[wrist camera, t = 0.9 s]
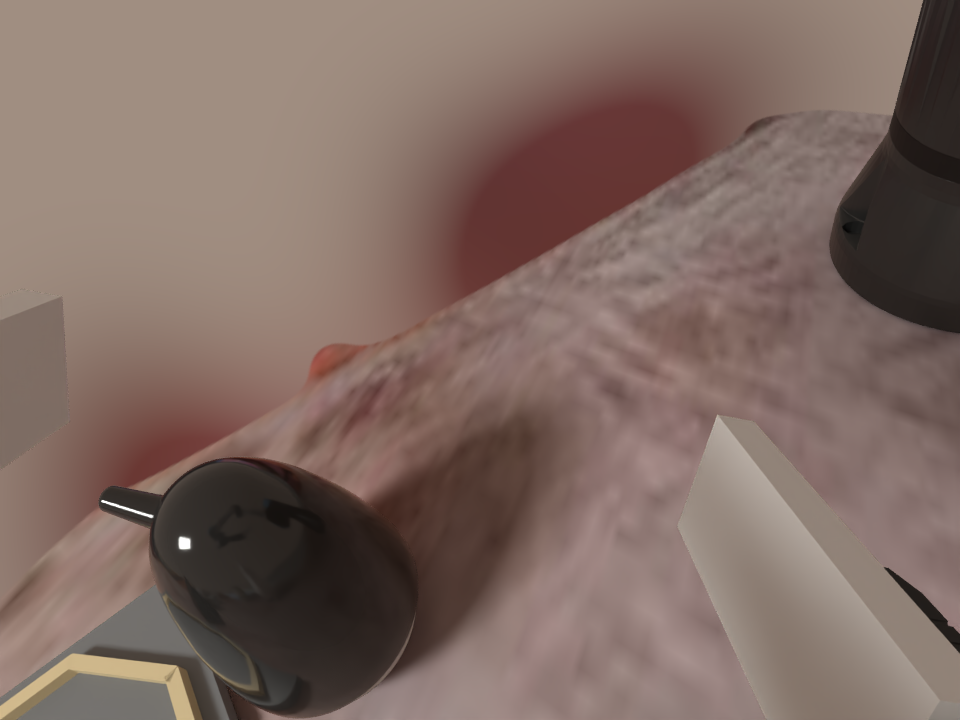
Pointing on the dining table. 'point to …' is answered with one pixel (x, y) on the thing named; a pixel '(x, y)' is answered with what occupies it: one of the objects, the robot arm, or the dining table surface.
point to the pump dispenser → (278, 580)
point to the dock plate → (124, 675)
